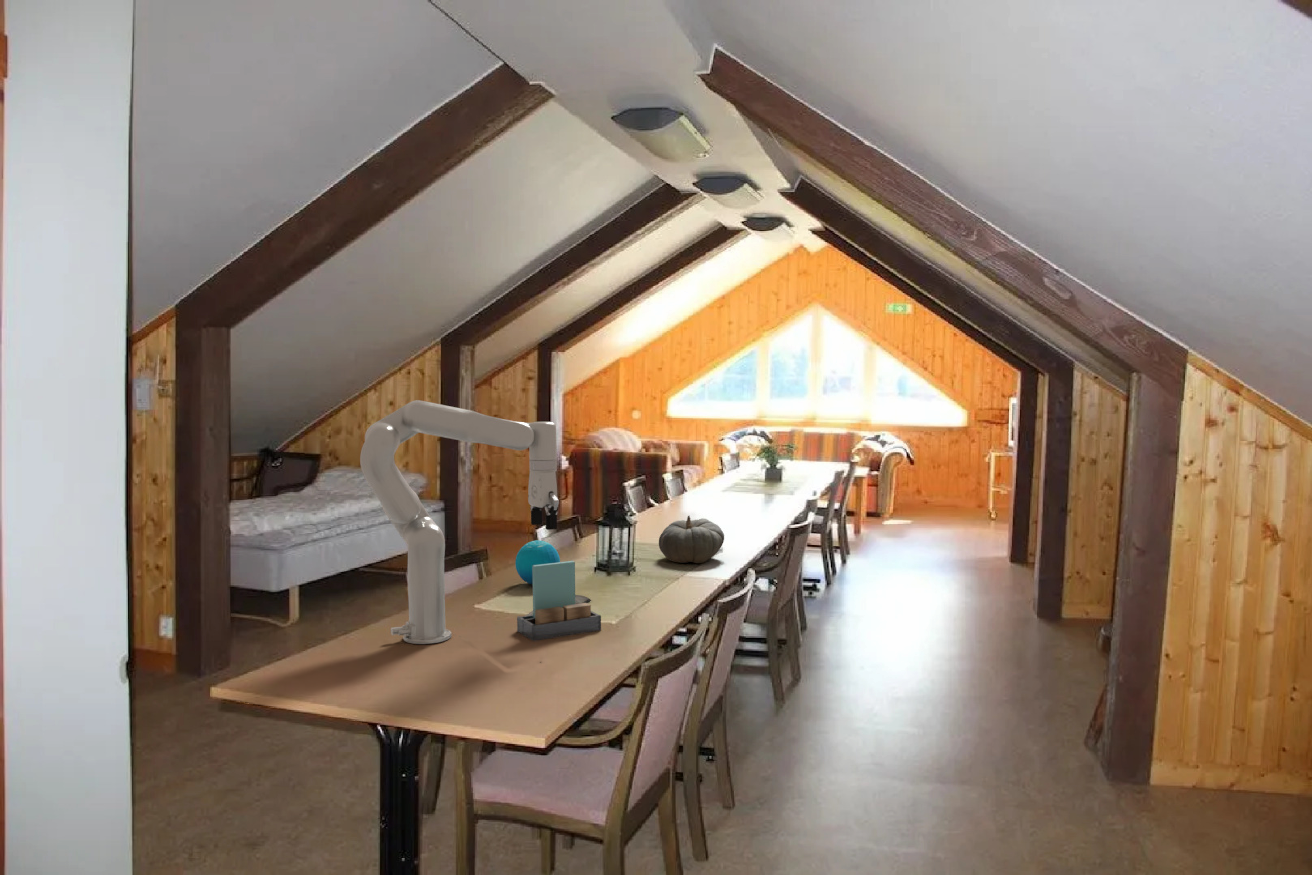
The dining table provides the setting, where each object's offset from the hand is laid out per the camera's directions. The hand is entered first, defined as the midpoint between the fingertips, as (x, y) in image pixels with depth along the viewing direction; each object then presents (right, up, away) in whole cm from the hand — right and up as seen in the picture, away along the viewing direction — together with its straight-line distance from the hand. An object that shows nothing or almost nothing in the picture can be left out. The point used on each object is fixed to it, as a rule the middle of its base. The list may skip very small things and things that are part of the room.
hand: (543, 526), depth 264 cm
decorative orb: (-8, -25, +54) cm, 60 cm away
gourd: (+45, -22, +94) cm, 106 cm away
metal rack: (+5, -29, -7) cm, 30 cm away
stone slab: (+2, -28, +18) cm, 33 cm away
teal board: (+3, -28, -4) cm, 28 cm away
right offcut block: (+10, -28, -7) cm, 30 cm away
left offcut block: (+3, -28, -11) cm, 30 cm away
